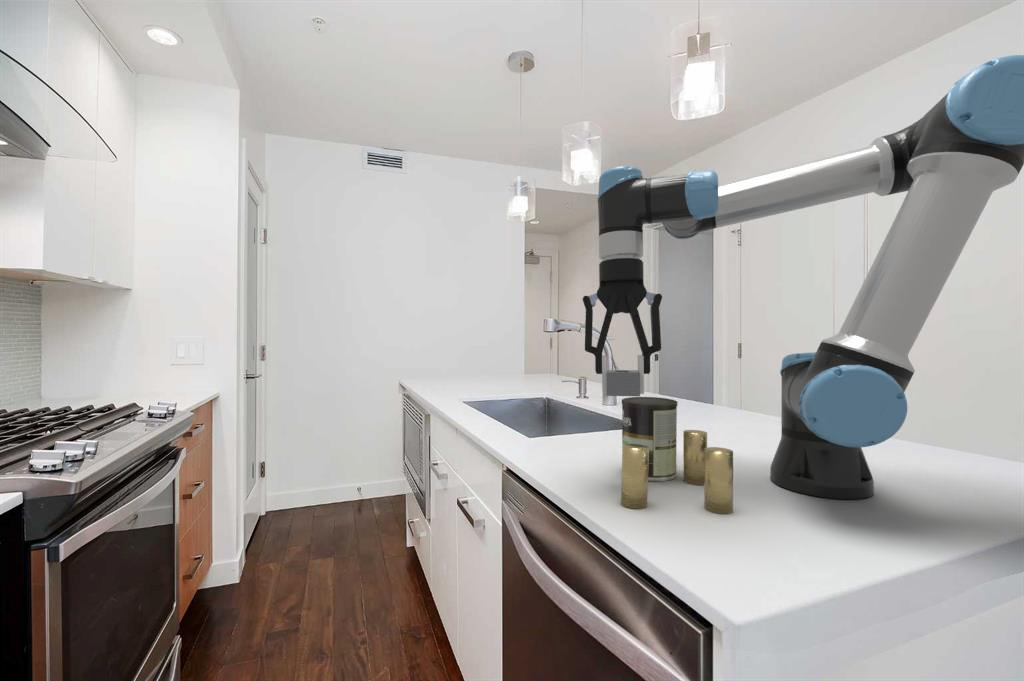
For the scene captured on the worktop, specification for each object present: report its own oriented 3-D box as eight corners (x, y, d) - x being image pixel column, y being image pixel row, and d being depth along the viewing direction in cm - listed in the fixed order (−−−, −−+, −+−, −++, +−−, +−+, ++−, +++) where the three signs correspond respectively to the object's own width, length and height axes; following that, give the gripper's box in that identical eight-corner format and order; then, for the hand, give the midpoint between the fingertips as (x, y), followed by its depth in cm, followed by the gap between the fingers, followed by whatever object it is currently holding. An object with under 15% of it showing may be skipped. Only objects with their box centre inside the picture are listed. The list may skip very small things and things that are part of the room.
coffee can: (624, 480, 85) (624, 403, 85) (619, 465, 95) (619, 396, 95) (683, 482, 83) (683, 404, 83) (671, 466, 94) (671, 397, 93)
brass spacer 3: (729, 505, 72) (729, 447, 72) (736, 515, 68) (736, 454, 68) (701, 503, 73) (701, 446, 73) (707, 513, 69) (707, 452, 69)
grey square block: (637, 392, 83) (637, 369, 83) (640, 396, 78) (640, 372, 78) (606, 391, 84) (605, 369, 84) (606, 395, 79) (606, 371, 79)
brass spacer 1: (644, 500, 74) (646, 444, 74) (649, 509, 70) (651, 450, 70) (619, 498, 75) (621, 443, 75) (622, 507, 71) (624, 449, 71)
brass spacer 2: (704, 479, 86) (704, 430, 85) (709, 485, 82) (709, 434, 82) (681, 477, 86) (681, 429, 86) (685, 484, 82) (685, 433, 82)
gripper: (672, 261, 83) (674, 390, 83) (568, 265, 86) (570, 390, 86) (680, 253, 76) (682, 395, 76) (566, 258, 79) (568, 395, 79)
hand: (622, 392), depth 81 cm, fingers closed on grey square block, 5 cm apart
